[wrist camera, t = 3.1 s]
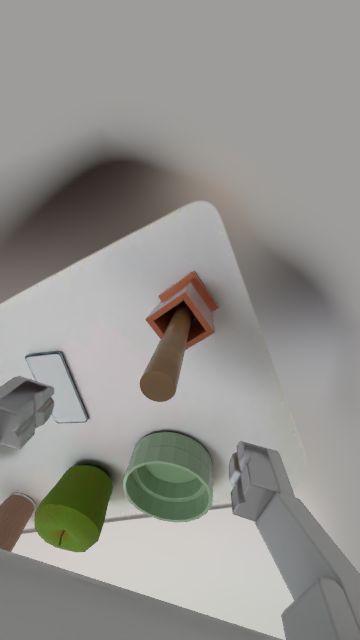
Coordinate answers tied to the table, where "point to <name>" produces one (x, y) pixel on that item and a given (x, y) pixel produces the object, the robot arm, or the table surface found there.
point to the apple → (75, 509)
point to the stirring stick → (168, 357)
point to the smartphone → (58, 386)
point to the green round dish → (169, 477)
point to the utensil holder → (196, 301)
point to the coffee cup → (14, 519)
